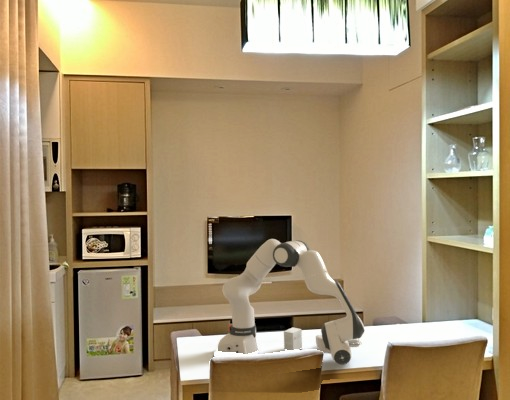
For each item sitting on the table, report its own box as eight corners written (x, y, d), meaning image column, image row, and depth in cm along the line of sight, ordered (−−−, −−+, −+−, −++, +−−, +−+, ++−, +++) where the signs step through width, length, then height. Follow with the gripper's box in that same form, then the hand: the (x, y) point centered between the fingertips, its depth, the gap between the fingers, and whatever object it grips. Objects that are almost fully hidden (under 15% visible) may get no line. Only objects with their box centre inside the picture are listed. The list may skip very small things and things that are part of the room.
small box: (293, 347, 235) (292, 327, 235) (302, 349, 231) (301, 328, 231) (284, 352, 229) (283, 331, 229) (293, 354, 225) (292, 333, 225)
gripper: (361, 337, 209) (357, 328, 223) (316, 338, 211) (315, 329, 224) (362, 351, 209) (358, 341, 223) (316, 352, 211) (315, 342, 225)
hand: (336, 335), depth 224 cm, fingers open, 8 cm apart
